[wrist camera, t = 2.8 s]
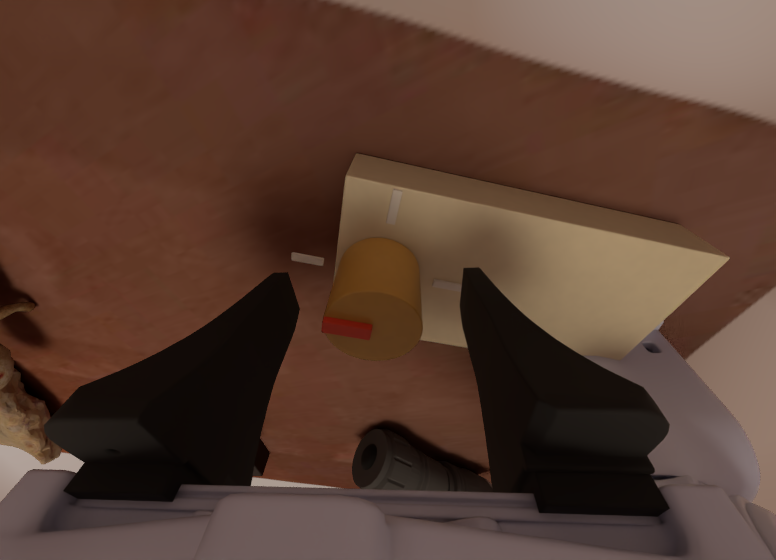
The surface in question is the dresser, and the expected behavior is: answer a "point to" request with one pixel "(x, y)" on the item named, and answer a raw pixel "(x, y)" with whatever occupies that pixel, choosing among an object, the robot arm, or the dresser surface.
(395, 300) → the lock knob
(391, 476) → the flashlight
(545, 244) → the dial box
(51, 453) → the stone
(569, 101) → the dresser surface
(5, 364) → the figurine
